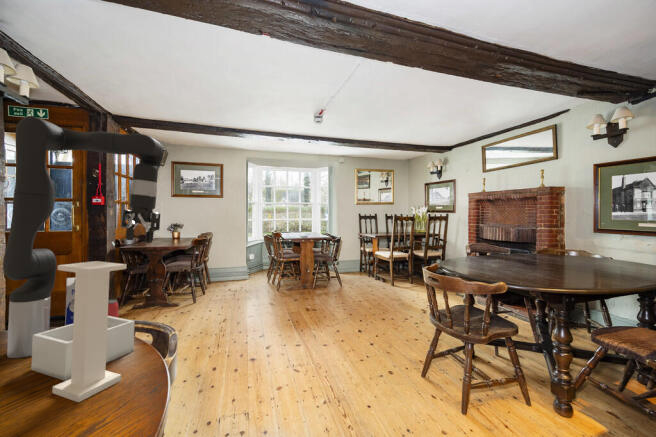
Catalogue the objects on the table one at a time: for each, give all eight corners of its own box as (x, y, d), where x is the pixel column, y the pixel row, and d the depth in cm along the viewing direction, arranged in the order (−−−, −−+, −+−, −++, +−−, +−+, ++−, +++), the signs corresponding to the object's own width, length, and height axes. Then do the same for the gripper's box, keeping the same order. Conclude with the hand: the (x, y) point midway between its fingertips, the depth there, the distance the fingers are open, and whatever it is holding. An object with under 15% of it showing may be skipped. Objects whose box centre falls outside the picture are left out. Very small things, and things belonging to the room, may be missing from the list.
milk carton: (87, 324, 116) (89, 275, 116) (89, 329, 111) (91, 278, 111) (64, 328, 111) (66, 277, 111) (64, 333, 106) (67, 280, 106)
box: (31, 369, 81) (32, 334, 81) (102, 343, 99) (103, 314, 99) (64, 380, 76) (66, 343, 76) (133, 351, 94) (134, 321, 94)
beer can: (105, 336, 104) (106, 304, 105) (91, 334, 106) (92, 302, 106) (121, 330, 111) (123, 299, 111) (108, 328, 112) (109, 298, 112)
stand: (49, 392, 71) (55, 265, 72) (93, 372, 81) (98, 260, 81) (81, 403, 67) (87, 269, 68) (123, 381, 77) (128, 264, 77)
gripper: (117, 191, 96) (112, 239, 95) (149, 194, 91) (144, 244, 91) (138, 194, 103) (133, 239, 102) (169, 197, 99) (164, 243, 98)
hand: (138, 241), depth 97 cm, fingers open, 8 cm apart
